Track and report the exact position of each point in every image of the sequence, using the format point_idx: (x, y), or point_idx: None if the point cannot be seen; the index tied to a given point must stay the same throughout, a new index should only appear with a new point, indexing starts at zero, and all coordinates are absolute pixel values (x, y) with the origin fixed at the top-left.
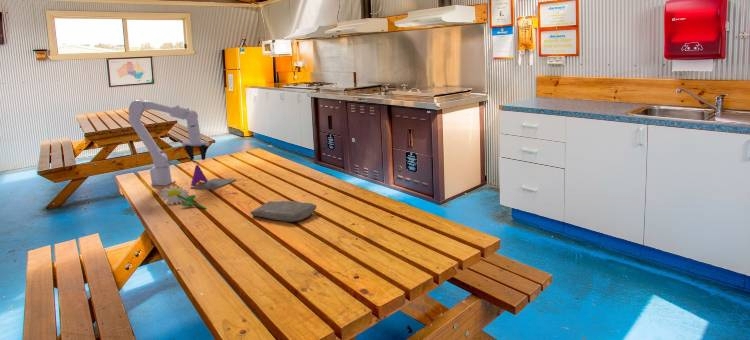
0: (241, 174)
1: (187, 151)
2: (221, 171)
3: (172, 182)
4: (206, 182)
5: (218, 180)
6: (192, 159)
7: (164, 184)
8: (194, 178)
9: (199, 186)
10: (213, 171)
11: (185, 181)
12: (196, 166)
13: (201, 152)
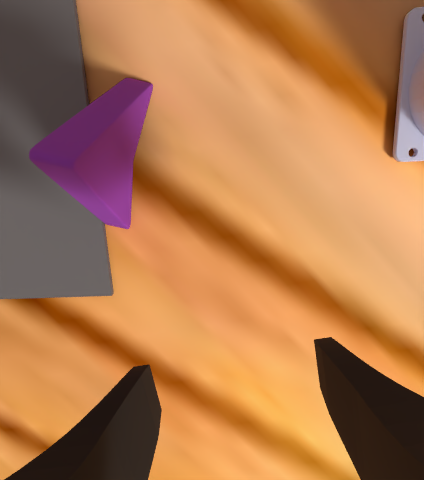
0: (19, 428)
1: (421, 414)
2: (230, 471)
3: (396, 116)
4: None
5: (25, 249)
6: (317, 360)
7: (417, 15)
8: (103, 94)
9: (23, 48)
10: (292, 464)
11: (308, 189)
12: (59, 146)
13: (74, 445)
